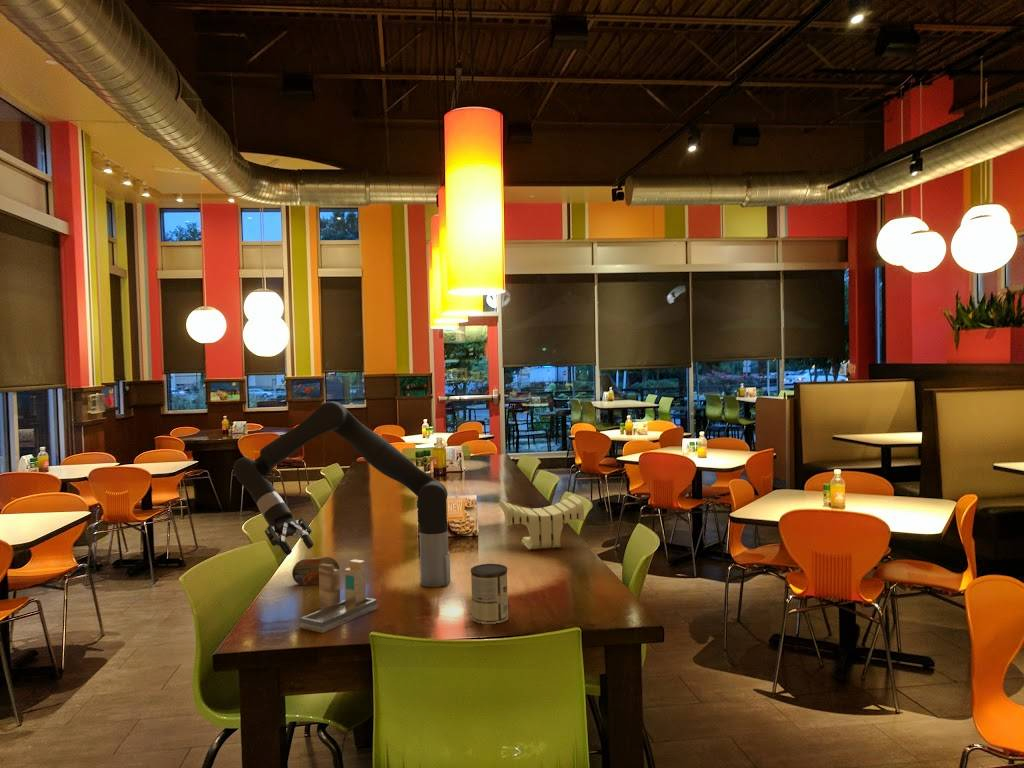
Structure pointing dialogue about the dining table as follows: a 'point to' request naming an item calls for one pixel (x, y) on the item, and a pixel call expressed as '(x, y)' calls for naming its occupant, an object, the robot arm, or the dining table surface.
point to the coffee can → (489, 593)
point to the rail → (343, 602)
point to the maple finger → (328, 585)
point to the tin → (310, 570)
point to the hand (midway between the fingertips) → (300, 550)
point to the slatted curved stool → (544, 521)
